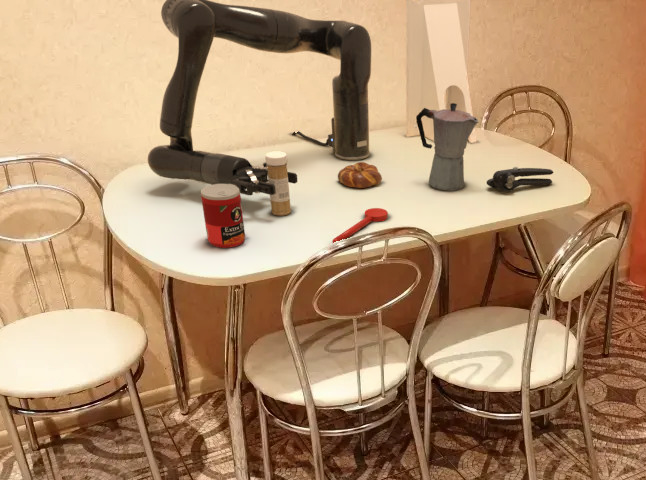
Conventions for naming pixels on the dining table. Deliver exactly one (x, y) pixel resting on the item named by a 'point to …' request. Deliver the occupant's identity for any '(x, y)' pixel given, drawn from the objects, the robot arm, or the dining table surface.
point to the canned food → (223, 215)
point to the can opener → (507, 181)
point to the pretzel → (359, 175)
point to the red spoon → (364, 222)
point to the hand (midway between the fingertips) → (285, 184)
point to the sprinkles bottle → (278, 182)
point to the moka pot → (448, 145)
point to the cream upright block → (436, 60)
